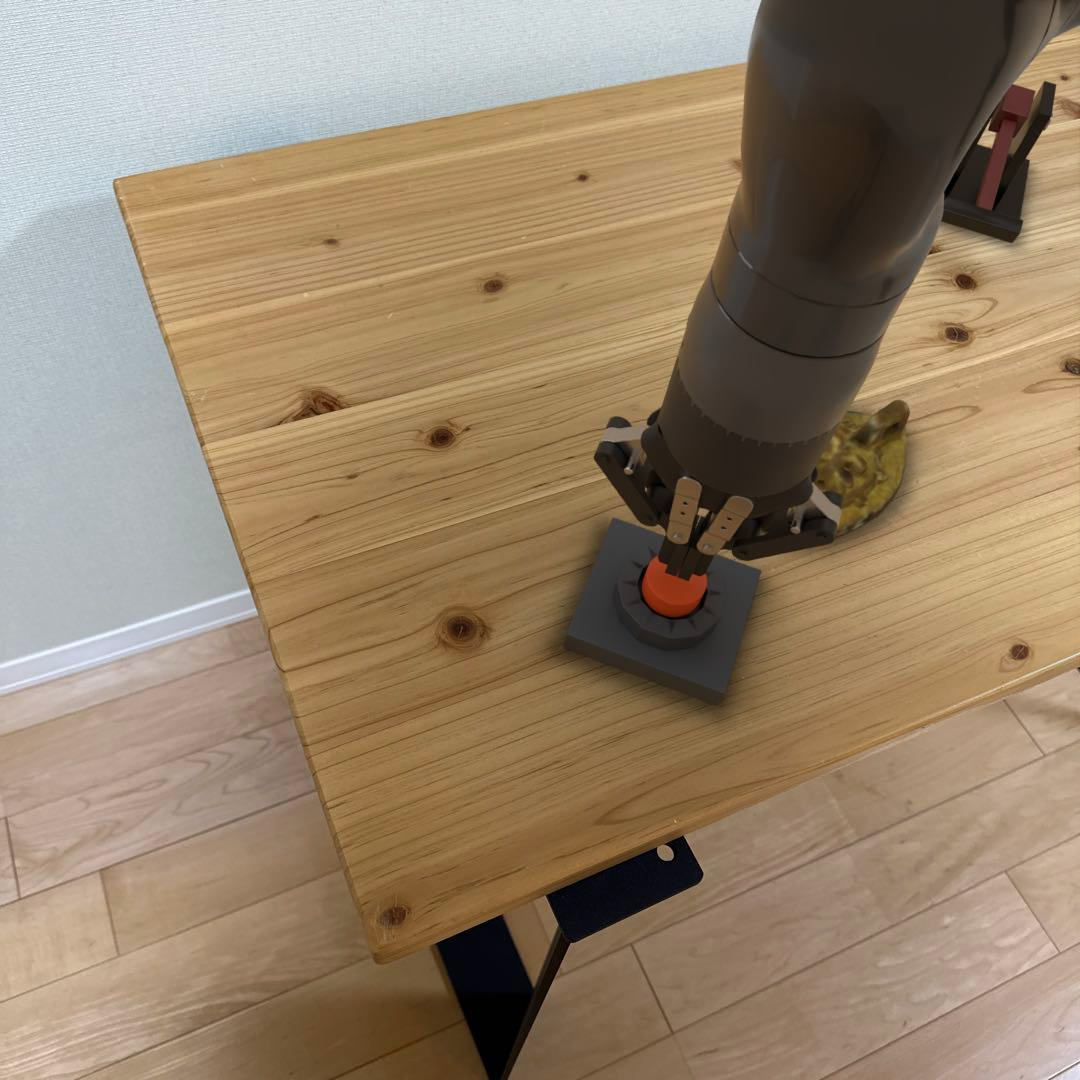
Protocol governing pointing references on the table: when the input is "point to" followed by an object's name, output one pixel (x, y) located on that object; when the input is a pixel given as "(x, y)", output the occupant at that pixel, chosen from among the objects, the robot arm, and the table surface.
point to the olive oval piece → (865, 463)
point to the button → (671, 591)
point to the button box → (661, 618)
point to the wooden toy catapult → (1016, 165)
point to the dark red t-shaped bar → (994, 172)
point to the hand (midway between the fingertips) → (681, 564)
